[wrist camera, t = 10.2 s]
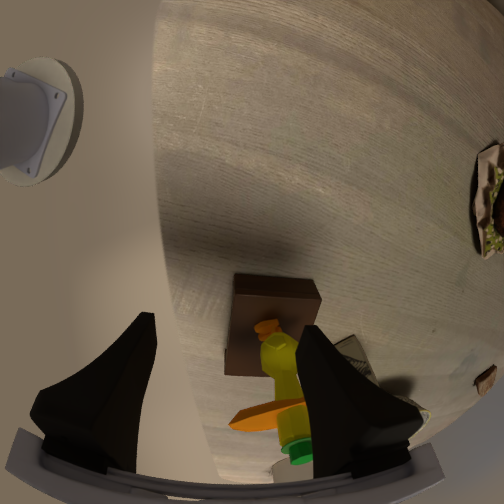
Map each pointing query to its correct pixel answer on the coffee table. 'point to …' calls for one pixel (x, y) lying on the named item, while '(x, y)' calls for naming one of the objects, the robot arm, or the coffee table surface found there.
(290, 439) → the toy figure
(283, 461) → the canister
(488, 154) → the bear figurine
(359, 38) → the coffee table surface
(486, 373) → the notched wooden chunk
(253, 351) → the brown square plinth
